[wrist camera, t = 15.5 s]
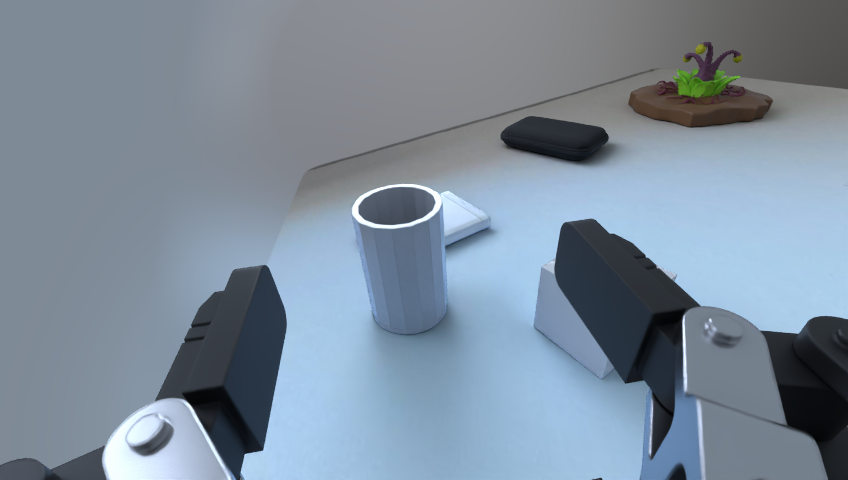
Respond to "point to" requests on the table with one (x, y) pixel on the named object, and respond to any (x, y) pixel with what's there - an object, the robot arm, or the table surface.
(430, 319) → the pot
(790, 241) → the table surface
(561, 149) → the carrying case
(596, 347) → the white cube
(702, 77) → the plant
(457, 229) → the hard drive
